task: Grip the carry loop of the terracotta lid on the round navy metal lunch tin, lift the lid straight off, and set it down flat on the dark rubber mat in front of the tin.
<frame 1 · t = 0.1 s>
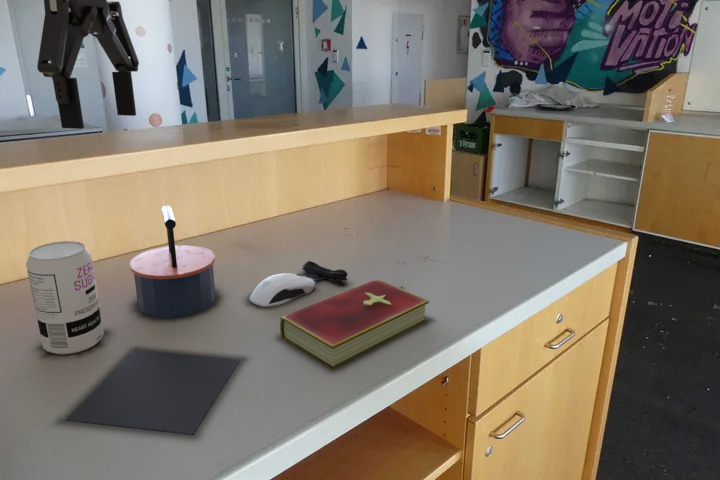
hand: (102, 121, 80), 32 cm above the counter, tool pointing down, fingers open, 13 cm apart
lunch tin: (177, 302, 95), on the counter
hardcover book: (356, 331, 88), on the counter
computer mouse: (295, 292, 101), on the counter
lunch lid: (173, 262, 93), point 7 cm above the counter, touching lunch tin
mat: (161, 389, 72), on the counter
supplement can: (74, 344, 82), on the counter
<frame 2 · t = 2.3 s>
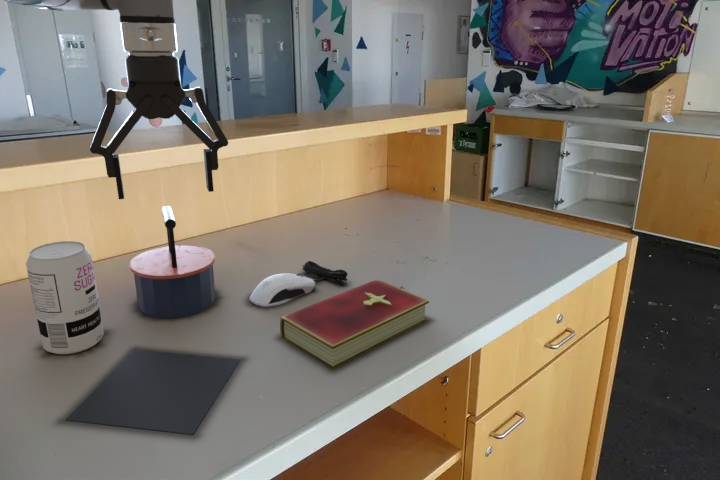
hand: (167, 193, 89), 20 cm above the counter, tool pointing down, fingers open, 13 cm apart
nothing on the counter moved.
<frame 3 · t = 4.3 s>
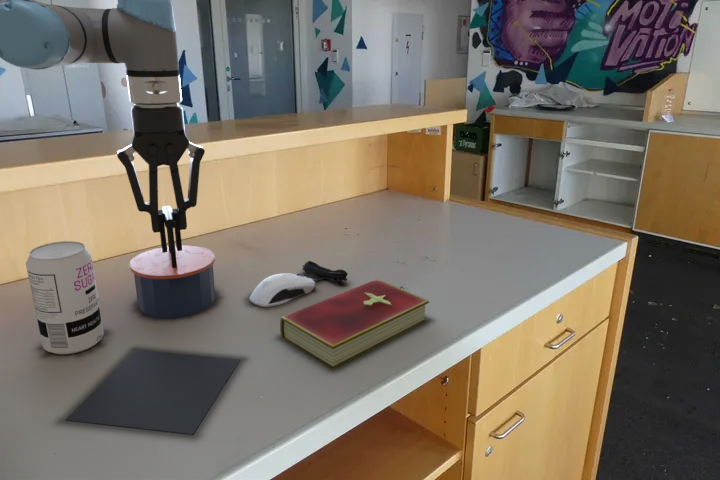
hand: (171, 248, 92), 10 cm above the counter, tool pointing down, fingers closed on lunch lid, 2 cm apart
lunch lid: (173, 262, 93), point 8 cm above the counter, touching gripper
everything else where it was.
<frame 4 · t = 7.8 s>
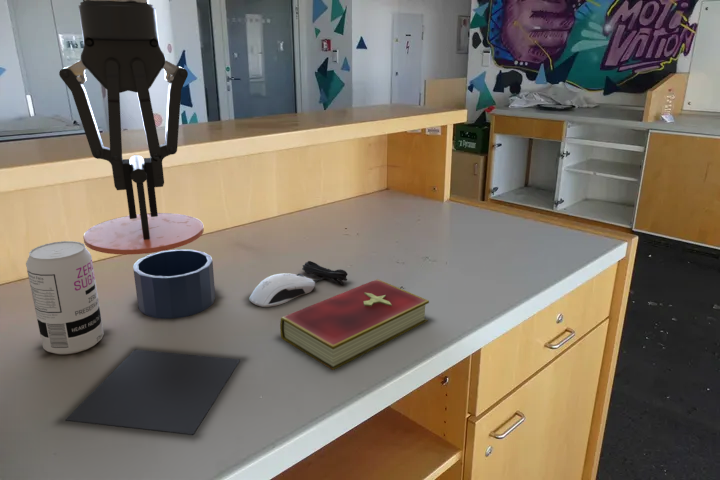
hand: (143, 214, 66), 23 cm above the counter, tool pointing down, fingers closed on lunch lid, 2 cm apart
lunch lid: (145, 234, 67), point 21 cm above the counter, touching gripper
everything else where it was.
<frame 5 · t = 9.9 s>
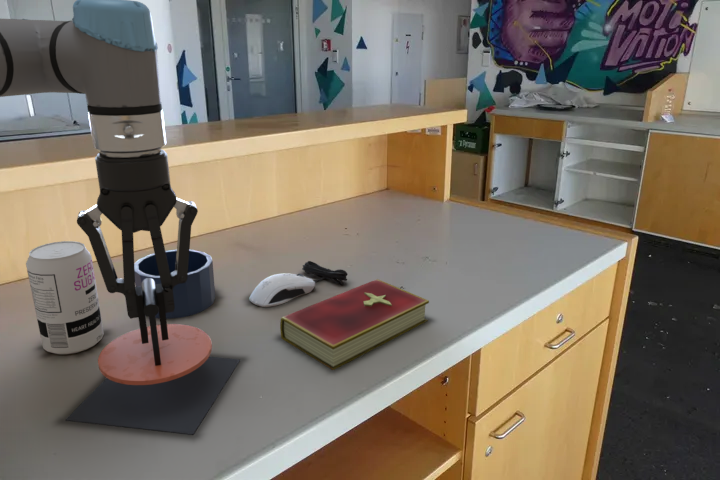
hand: (154, 336, 69), 8 cm above the counter, tool pointing down, fingers closed on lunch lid, 2 cm apart
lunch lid: (157, 353, 70), point 5 cm above the counter, touching gripper
everything else where it was.
when the fingers open (4 cm above the counter, at t = 11.3 s): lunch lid stays where it is, resting on mat.
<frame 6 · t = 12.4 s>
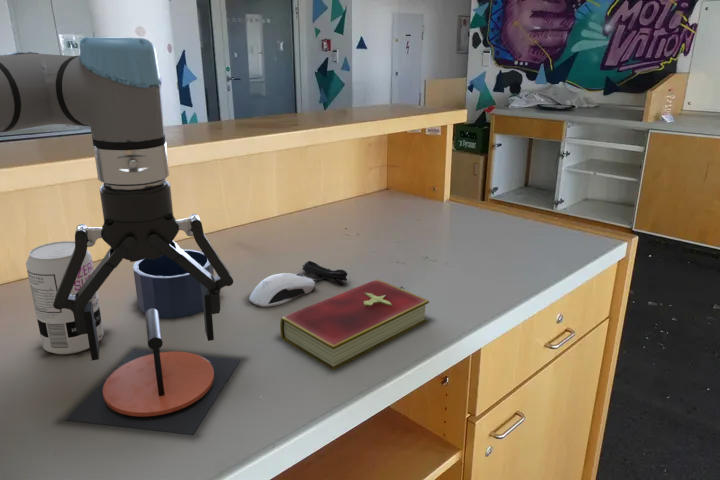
hand: (154, 345, 70), 7 cm above the counter, tool pointing down, fingers open, 13 cm apart
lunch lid: (160, 383, 72), point 1 cm above the counter, touching mat
everything else where it was.
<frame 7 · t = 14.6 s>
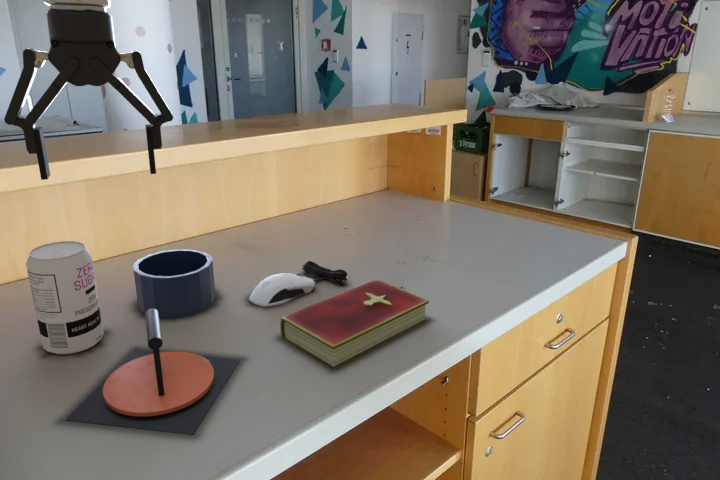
hand: (101, 174, 76), 25 cm above the counter, tool pointing down, fingers open, 13 cm apart
nothing on the counter moved.
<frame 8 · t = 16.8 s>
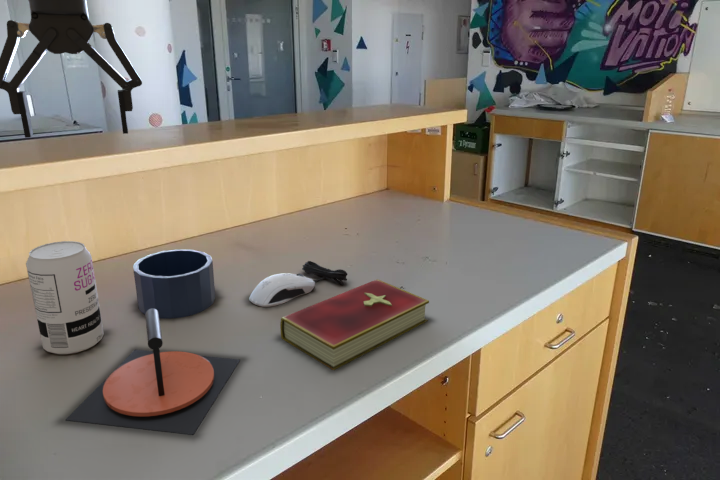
hand: (78, 134, 86), 29 cm above the counter, tool pointing down, fingers open, 13 cm apart
nothing on the counter moved.
at the end: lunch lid inside the target area on the mat (0.0 cm from its centre), point 1.0 cm above the mat's base; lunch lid inside the target area on the counter beside the lunch tin (9.2 cm from its centre), point 1.0 cm above the counter; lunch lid tilted 0° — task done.
